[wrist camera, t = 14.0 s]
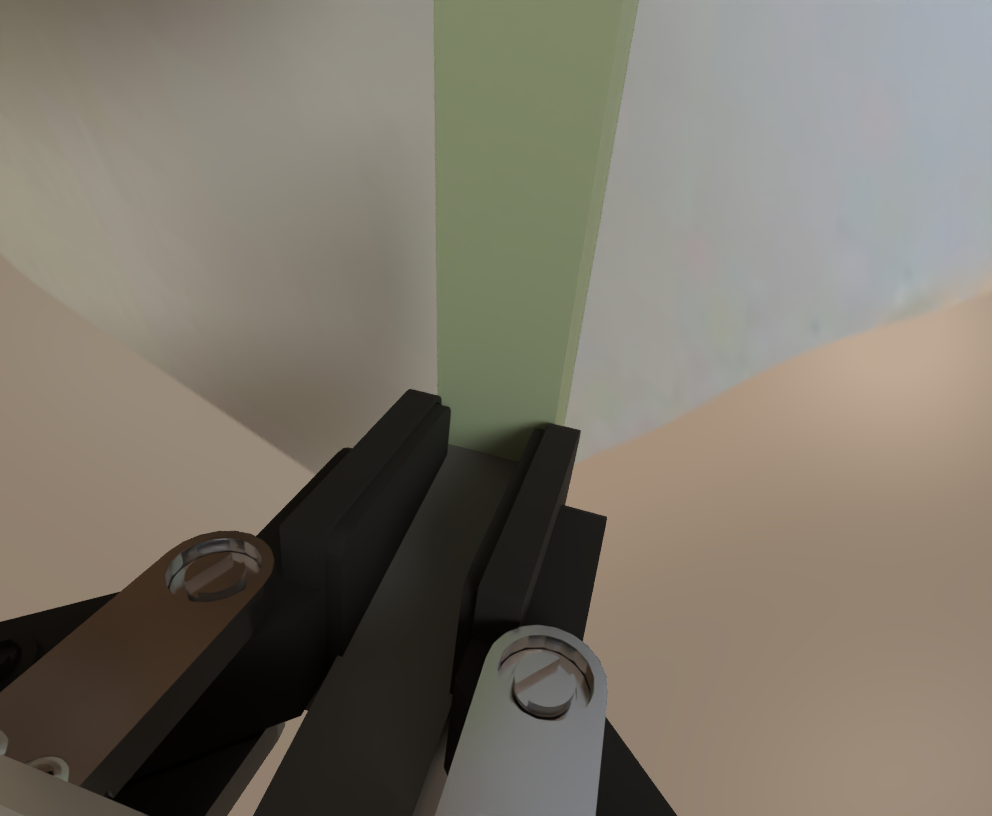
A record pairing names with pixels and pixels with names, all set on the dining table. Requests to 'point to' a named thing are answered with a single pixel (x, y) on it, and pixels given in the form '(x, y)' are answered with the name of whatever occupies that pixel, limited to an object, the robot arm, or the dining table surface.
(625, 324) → the dining table surface
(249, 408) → the dining table surface
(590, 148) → the scraper tool
